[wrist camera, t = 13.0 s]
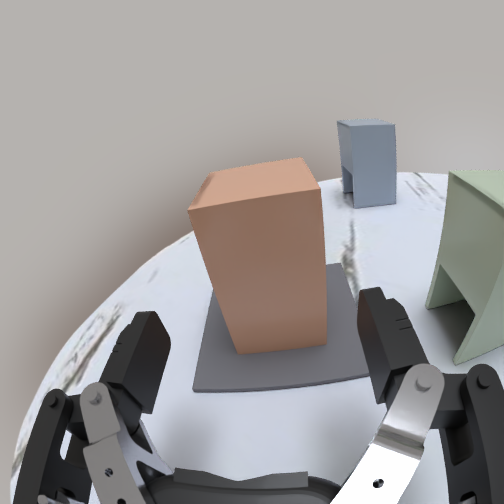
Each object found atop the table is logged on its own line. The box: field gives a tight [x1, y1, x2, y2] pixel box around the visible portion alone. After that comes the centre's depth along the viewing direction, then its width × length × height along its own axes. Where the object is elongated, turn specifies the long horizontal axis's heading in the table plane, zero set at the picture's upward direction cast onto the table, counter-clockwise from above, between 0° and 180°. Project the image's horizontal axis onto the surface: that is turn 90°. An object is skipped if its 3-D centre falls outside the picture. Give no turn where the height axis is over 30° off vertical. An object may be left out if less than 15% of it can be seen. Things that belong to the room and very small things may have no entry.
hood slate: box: [337, 119, 396, 208], centre depth 34 cm, size 6×6×11 cm
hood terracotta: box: [188, 157, 327, 354], centre depth 18 cm, size 6×6×11 cm
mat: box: [192, 263, 370, 392], centre depth 21 cm, size 12×12×1 cm
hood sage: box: [425, 170, 504, 365], centre depth 13 cm, size 6×6×11 cm
